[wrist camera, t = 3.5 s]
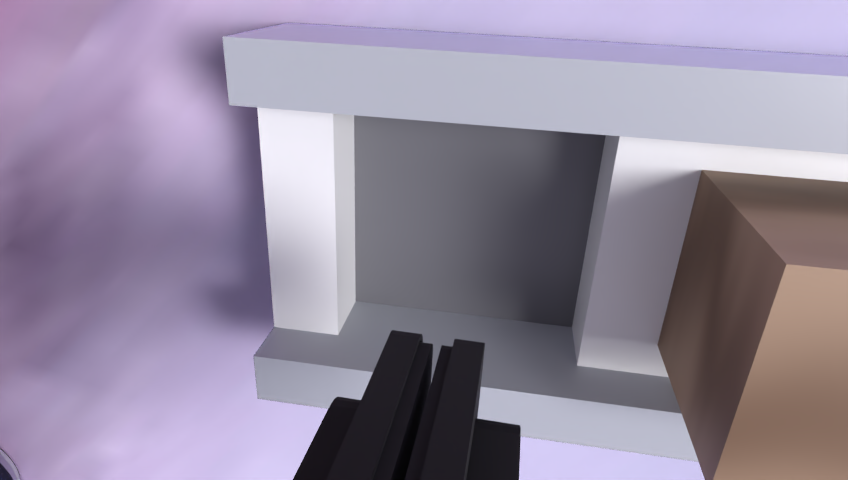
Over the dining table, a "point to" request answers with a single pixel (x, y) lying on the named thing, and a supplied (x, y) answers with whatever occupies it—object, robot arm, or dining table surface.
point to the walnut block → (763, 327)
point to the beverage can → (7, 468)
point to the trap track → (507, 206)
